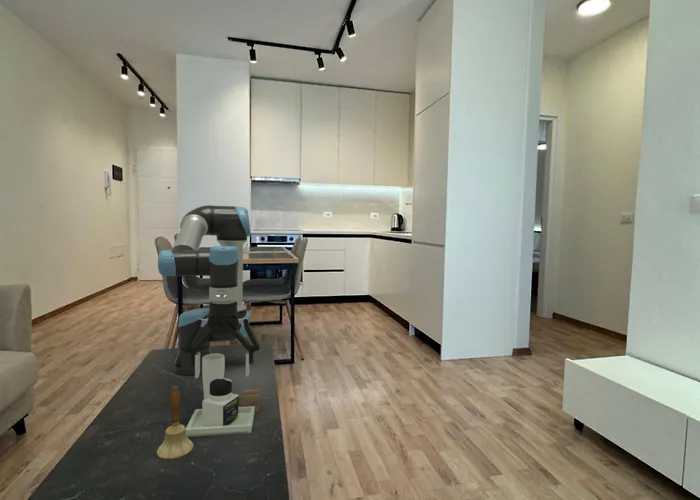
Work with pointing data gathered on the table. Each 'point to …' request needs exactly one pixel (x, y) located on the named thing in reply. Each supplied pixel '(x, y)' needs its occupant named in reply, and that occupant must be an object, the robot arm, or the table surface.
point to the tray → (237, 427)
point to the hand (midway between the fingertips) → (222, 375)
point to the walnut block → (250, 398)
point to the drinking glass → (212, 370)
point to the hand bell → (175, 432)
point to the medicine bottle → (220, 404)
